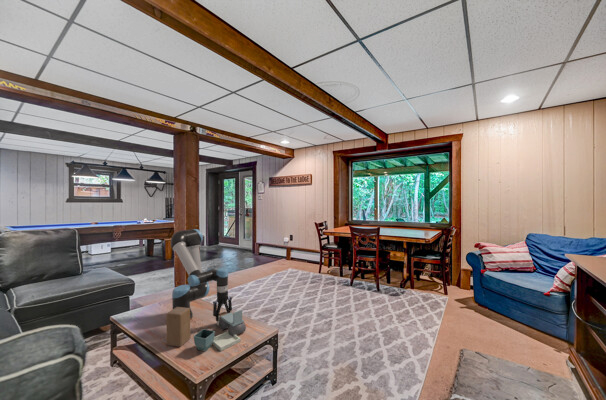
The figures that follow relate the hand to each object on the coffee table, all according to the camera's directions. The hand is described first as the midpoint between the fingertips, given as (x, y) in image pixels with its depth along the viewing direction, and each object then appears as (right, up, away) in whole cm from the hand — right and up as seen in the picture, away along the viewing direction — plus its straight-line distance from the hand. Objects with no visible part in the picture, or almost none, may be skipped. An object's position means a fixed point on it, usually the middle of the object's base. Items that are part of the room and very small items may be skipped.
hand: (222, 323), depth 181 cm
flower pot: (-2, -1, -29) cm, 29 cm away
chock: (0, 0, 0) cm, 0 cm away
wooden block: (-21, -1, -22) cm, 30 cm away
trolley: (+9, -1, -9) cm, 12 cm away
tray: (+8, -1, -22) cm, 24 cm away
